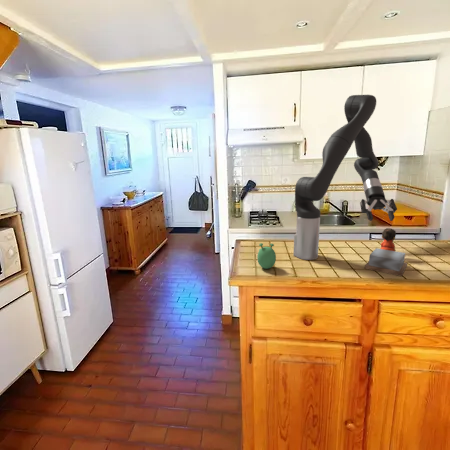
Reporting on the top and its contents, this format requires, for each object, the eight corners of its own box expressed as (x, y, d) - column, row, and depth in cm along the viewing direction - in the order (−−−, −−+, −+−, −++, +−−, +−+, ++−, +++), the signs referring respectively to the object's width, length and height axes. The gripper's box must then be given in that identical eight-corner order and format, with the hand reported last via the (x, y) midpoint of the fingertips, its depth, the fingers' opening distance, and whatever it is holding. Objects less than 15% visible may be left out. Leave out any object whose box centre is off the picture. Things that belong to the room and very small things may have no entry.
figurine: (397, 259, 116) (401, 230, 113) (382, 258, 117) (385, 230, 114) (391, 254, 122) (395, 226, 119) (377, 253, 123) (380, 226, 120)
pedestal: (364, 268, 107) (366, 255, 106) (372, 259, 116) (373, 247, 115) (401, 276, 100) (403, 262, 99) (407, 265, 109) (408, 252, 108)
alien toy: (273, 263, 114) (274, 239, 112) (277, 271, 106) (277, 245, 104) (256, 264, 114) (256, 240, 112) (258, 271, 107) (258, 246, 104)
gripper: (360, 185, 130) (367, 215, 122) (393, 185, 129) (402, 215, 120) (355, 195, 136) (361, 224, 128) (386, 195, 135) (395, 224, 127)
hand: (381, 219), depth 124 cm, fingers open, 8 cm apart
